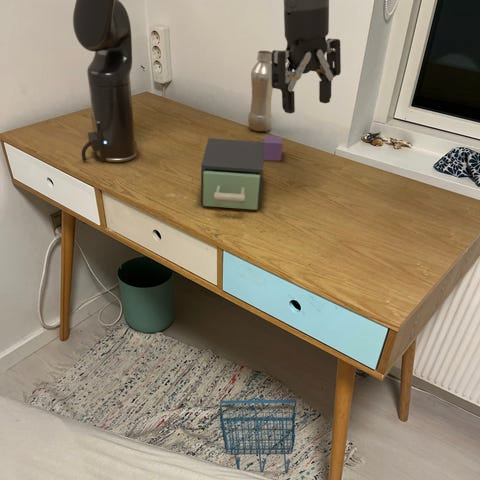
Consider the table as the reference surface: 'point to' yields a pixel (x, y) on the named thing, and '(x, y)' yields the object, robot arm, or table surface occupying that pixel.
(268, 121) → the plastic bottle
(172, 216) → the table surface
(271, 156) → the block
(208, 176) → the drawer
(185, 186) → the table surface
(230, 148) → the cabinet
